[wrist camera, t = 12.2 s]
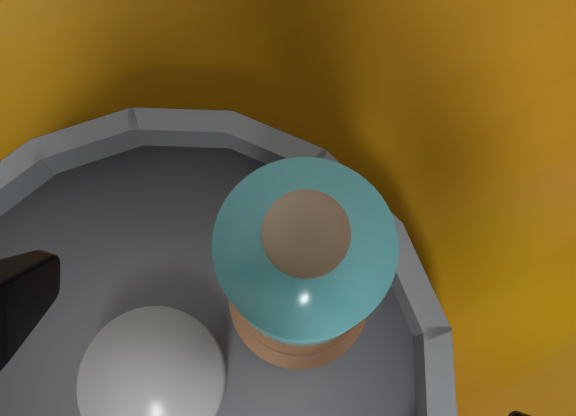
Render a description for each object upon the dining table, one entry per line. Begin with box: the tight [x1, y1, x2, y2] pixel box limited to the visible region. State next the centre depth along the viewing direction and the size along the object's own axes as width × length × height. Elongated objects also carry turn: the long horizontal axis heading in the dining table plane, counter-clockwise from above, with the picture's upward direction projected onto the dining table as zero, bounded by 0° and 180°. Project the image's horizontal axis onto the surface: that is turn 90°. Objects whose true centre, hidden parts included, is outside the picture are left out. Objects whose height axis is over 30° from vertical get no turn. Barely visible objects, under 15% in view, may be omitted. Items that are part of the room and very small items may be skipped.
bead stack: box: [212, 157, 399, 370], centre depth 14 cm, size 5×5×11 cm
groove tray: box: [0, 107, 457, 416], centre depth 18 cm, size 21×21×2 cm
